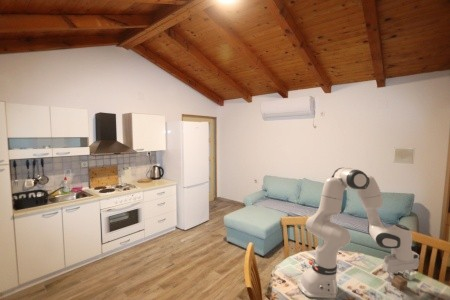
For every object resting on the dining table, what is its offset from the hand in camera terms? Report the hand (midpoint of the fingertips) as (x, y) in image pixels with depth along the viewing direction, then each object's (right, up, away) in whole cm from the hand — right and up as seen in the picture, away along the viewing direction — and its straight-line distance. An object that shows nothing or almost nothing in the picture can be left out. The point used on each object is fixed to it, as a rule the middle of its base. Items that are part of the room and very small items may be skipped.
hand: (399, 277), depth 125 cm
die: (+5, -5, +13) cm, 15 cm away
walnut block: (-1, -6, 0) cm, 6 cm away
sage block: (+11, -6, +8) cm, 15 cm away
